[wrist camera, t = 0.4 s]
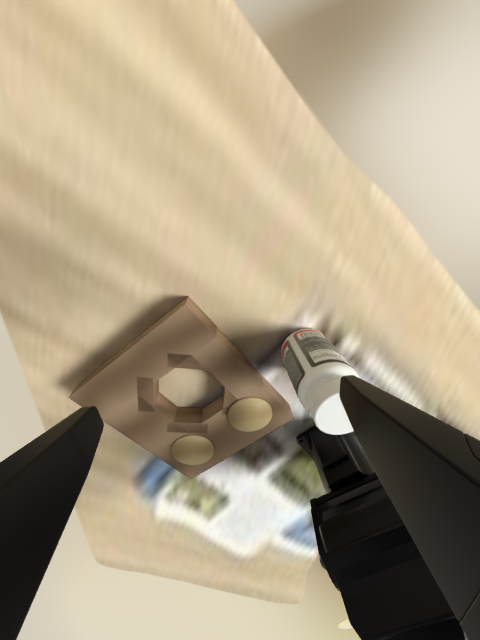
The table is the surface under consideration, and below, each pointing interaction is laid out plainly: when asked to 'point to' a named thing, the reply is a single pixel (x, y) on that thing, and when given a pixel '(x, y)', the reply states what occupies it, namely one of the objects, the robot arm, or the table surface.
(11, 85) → the table surface
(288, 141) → the table surface
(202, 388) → the table surface
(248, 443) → the pin board
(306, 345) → the pill bottle
